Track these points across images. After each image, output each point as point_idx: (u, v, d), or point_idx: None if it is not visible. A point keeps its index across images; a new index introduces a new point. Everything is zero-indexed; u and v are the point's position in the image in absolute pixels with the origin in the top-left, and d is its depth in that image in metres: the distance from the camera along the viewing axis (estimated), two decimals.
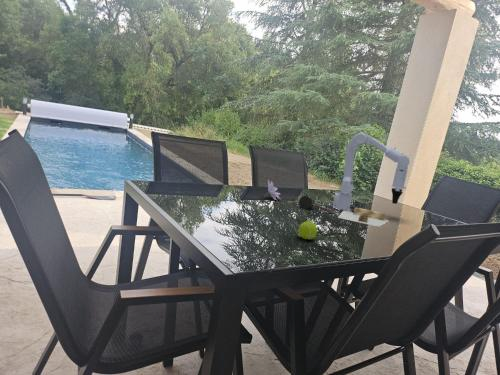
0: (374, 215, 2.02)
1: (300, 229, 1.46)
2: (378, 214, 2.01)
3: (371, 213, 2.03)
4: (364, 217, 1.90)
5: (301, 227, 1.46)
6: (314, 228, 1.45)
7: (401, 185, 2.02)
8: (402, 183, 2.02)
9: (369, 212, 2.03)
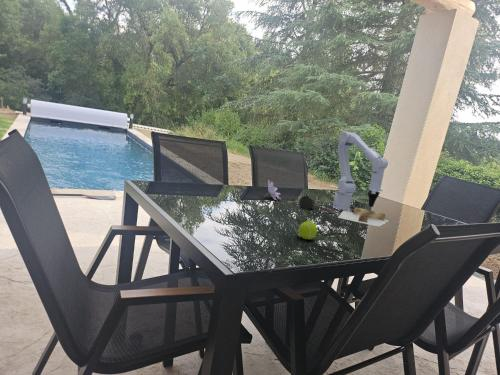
0: (374, 215, 2.02)
1: (300, 229, 1.46)
2: (378, 214, 2.01)
3: (371, 213, 2.03)
4: (364, 217, 1.90)
5: (301, 227, 1.46)
6: (314, 228, 1.45)
7: (377, 188, 1.99)
8: (379, 186, 1.99)
9: (369, 212, 2.03)
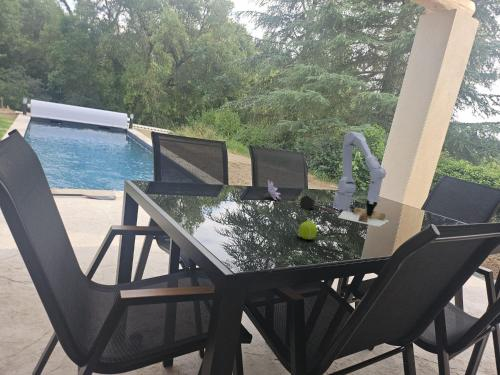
0: (374, 215, 2.02)
1: (300, 229, 1.46)
2: (378, 214, 2.01)
3: None
4: (364, 217, 1.90)
5: (301, 227, 1.46)
6: (314, 228, 1.45)
7: (375, 198, 2.00)
8: (377, 196, 2.00)
9: None
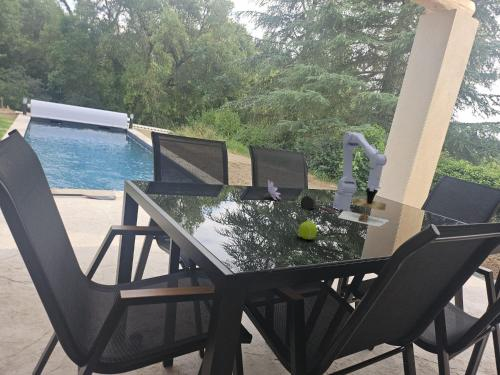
0: (374, 205, 1.96)
1: (300, 229, 1.46)
2: (378, 204, 1.95)
3: None
4: (364, 217, 1.90)
5: (301, 227, 1.46)
6: (314, 228, 1.45)
7: (376, 185, 1.94)
8: (377, 183, 1.94)
9: None
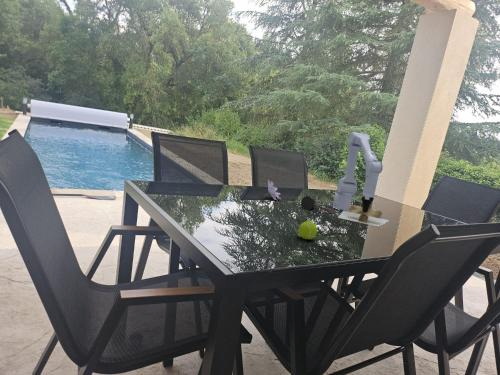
0: (370, 213, 1.91)
1: (300, 229, 1.46)
2: (374, 212, 1.90)
3: (367, 211, 1.92)
4: (364, 217, 1.90)
5: (301, 227, 1.46)
6: (314, 228, 1.45)
7: (371, 193, 1.89)
8: (373, 191, 1.89)
9: None
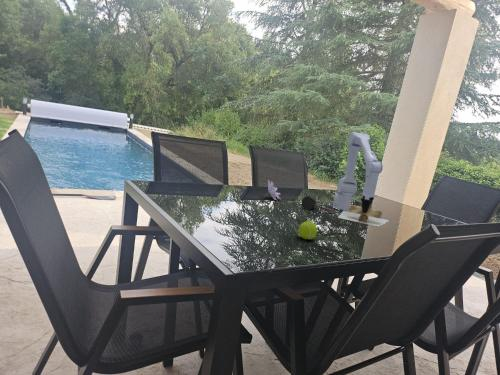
0: (370, 213, 1.91)
1: (300, 229, 1.46)
2: (374, 212, 1.90)
3: (367, 211, 1.92)
4: (364, 217, 1.90)
5: (301, 227, 1.46)
6: (314, 228, 1.45)
7: (371, 193, 1.89)
8: (373, 191, 1.89)
9: None
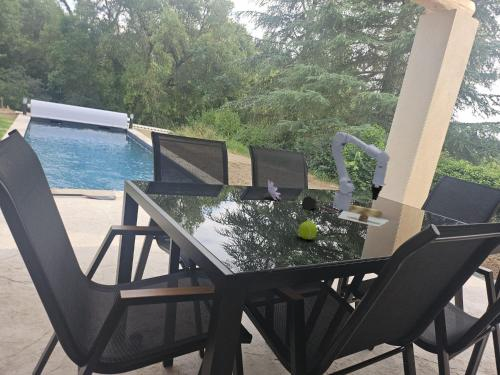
0: (370, 213, 1.91)
1: (300, 229, 1.46)
2: (374, 212, 1.90)
3: (367, 211, 1.92)
4: (364, 217, 1.90)
5: (301, 227, 1.46)
6: (314, 228, 1.45)
7: (381, 181, 2.04)
8: (382, 180, 2.04)
9: (365, 209, 1.92)
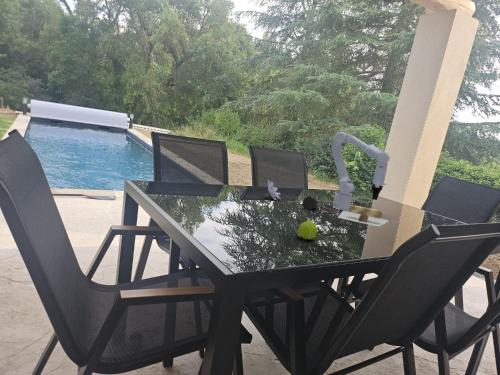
0: (370, 213, 1.91)
1: (300, 229, 1.46)
2: (374, 212, 1.90)
3: (367, 211, 1.92)
4: (364, 217, 1.90)
5: (301, 227, 1.46)
6: (314, 228, 1.45)
7: (381, 181, 2.05)
8: (382, 180, 2.05)
9: (365, 209, 1.92)
